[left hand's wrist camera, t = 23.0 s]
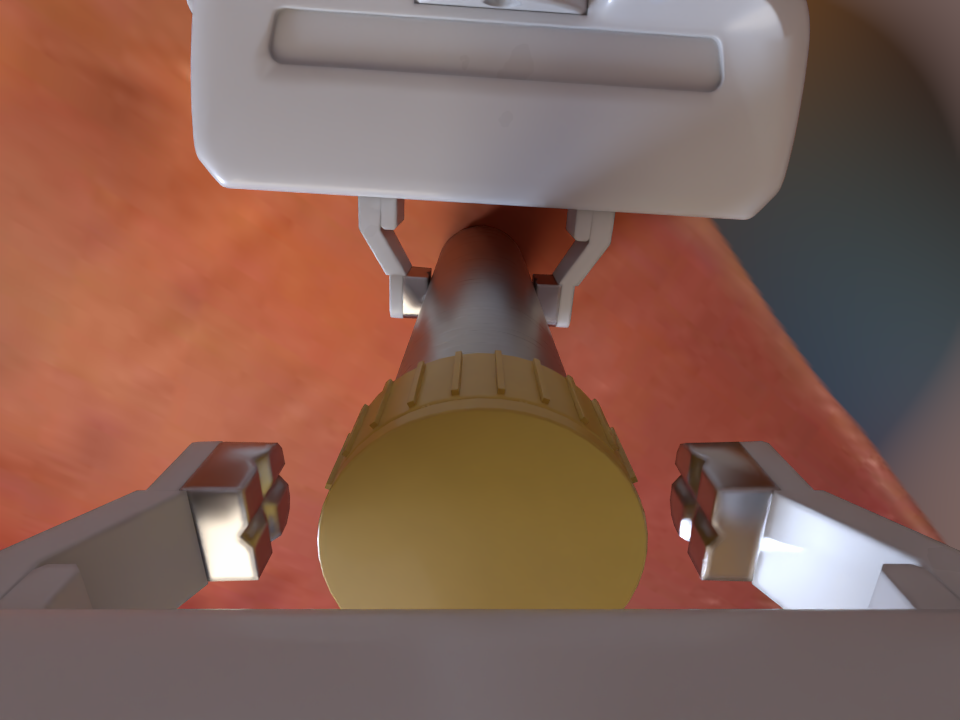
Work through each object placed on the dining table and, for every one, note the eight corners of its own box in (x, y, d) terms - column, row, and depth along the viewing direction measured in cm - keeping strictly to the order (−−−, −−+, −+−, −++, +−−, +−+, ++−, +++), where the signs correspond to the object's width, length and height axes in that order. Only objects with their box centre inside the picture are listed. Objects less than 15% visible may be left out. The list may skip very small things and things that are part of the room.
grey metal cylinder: (465, 326, 28) (440, 649, 10) (421, 253, 26) (301, 481, 9) (539, 285, 27) (651, 558, 9) (497, 208, 26) (536, 358, 8)
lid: (369, 317, 9) (337, 367, 7) (658, 383, 10) (705, 447, 8) (328, 555, 11) (294, 647, 9) (572, 600, 11) (591, 699, 9)
